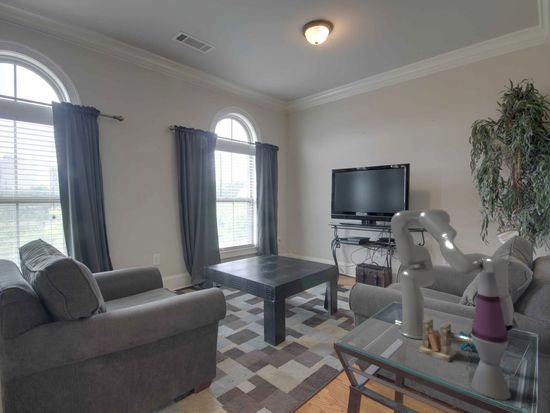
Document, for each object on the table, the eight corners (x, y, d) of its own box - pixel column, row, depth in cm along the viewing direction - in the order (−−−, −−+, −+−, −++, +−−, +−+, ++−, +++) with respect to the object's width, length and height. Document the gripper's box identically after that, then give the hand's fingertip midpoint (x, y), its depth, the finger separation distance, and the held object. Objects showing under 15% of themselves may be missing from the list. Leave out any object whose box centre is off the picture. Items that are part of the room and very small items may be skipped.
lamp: (516, 392, 96) (513, 271, 96) (502, 404, 90) (499, 276, 90) (479, 376, 105) (477, 266, 105) (465, 386, 99) (462, 270, 100)
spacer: (433, 350, 121) (427, 334, 123) (438, 345, 125) (433, 330, 127) (438, 351, 120) (432, 334, 121) (443, 345, 124) (438, 330, 126)
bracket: (417, 351, 124) (416, 322, 124) (426, 343, 131) (426, 315, 131) (448, 362, 115) (447, 330, 115) (457, 353, 122) (456, 323, 122)
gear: (484, 355, 117) (462, 333, 121) (472, 363, 118) (451, 341, 123) (480, 347, 127) (461, 327, 131) (469, 355, 128) (450, 335, 132)
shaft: (444, 337, 119) (444, 314, 119) (447, 335, 121) (447, 313, 121) (501, 354, 105) (500, 328, 105) (503, 351, 107) (502, 326, 107)
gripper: (466, 288, 111) (467, 335, 111) (522, 297, 99) (523, 351, 99) (472, 284, 116) (473, 330, 116) (526, 292, 104) (527, 344, 104)
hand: (496, 339), depth 108 cm, fingers closed on shaft, 3 cm apart
